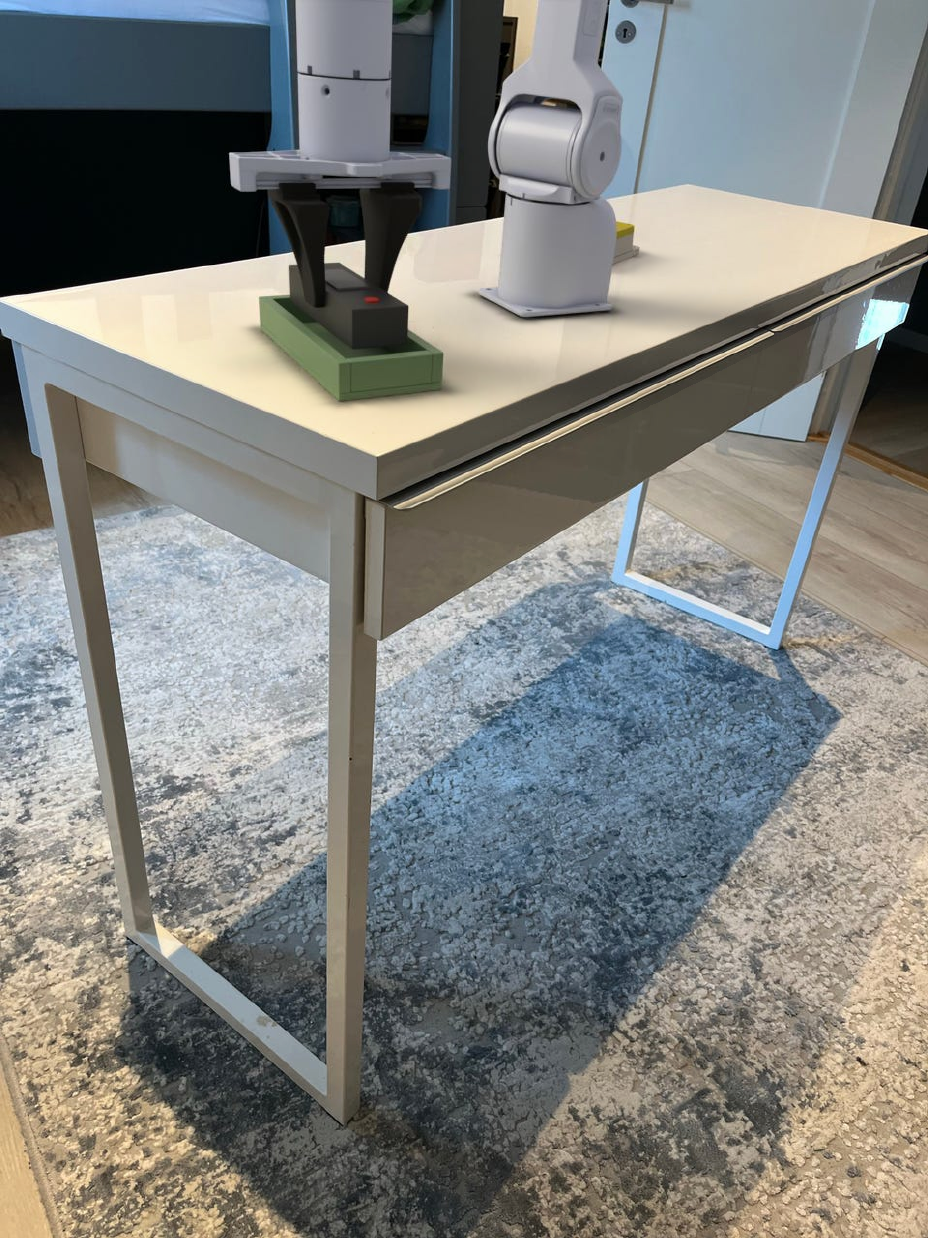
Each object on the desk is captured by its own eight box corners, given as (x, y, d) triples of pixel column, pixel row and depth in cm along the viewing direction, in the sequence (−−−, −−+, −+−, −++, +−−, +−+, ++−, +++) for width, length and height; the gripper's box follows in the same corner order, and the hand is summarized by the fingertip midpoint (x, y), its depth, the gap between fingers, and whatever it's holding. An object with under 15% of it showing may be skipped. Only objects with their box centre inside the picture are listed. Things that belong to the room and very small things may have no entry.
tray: (350, 322, 74) (350, 290, 72) (441, 389, 62) (443, 352, 61) (260, 329, 71) (258, 296, 69) (339, 401, 59) (339, 362, 58)
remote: (289, 301, 68) (288, 262, 67) (339, 297, 70) (339, 259, 69) (352, 349, 60) (352, 306, 58) (407, 344, 62) (409, 302, 60)
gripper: (249, 76, 51) (262, 325, 58) (478, 86, 57) (463, 310, 64) (213, 66, 56) (229, 296, 63) (427, 76, 62) (419, 284, 70)
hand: (345, 301), depth 64 cm, fingers closed on remote, 4 cm apart
